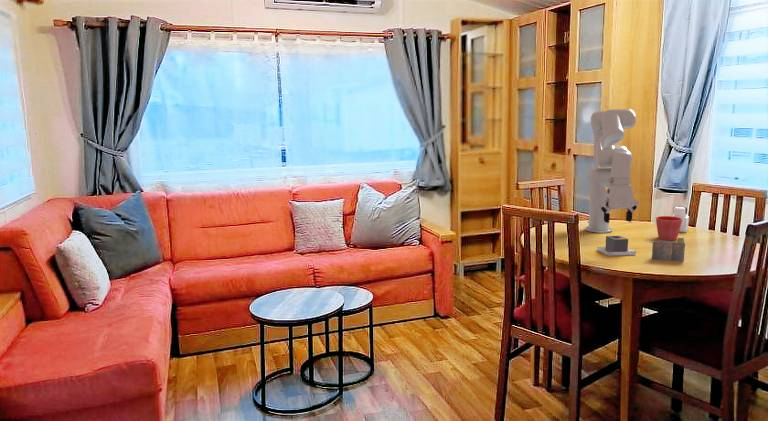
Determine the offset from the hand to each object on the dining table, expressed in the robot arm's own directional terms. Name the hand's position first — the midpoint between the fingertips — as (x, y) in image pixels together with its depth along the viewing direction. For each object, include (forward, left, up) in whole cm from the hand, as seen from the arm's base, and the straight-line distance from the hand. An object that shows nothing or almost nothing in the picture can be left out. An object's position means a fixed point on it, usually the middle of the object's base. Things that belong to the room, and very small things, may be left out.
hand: (617, 221), depth 241 cm
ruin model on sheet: (+14, +14, -14) cm, 25 cm away
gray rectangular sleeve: (0, 0, -12) cm, 12 cm away
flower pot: (-22, +37, -14) cm, 45 cm away
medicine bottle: (-38, +53, -14) cm, 66 cm away
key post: (0, 0, -13) cm, 13 cm away
